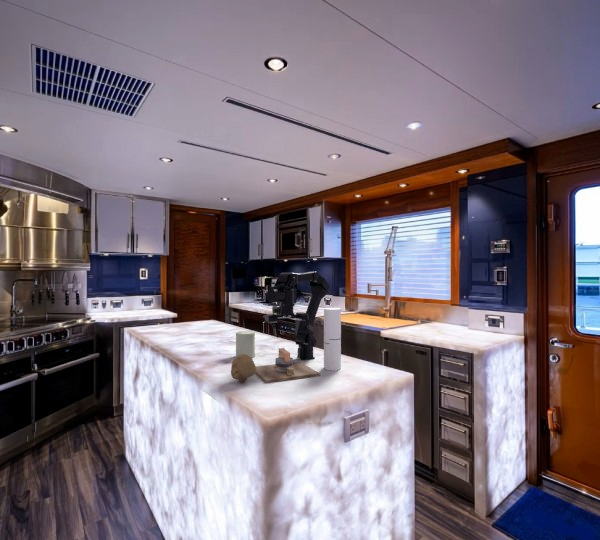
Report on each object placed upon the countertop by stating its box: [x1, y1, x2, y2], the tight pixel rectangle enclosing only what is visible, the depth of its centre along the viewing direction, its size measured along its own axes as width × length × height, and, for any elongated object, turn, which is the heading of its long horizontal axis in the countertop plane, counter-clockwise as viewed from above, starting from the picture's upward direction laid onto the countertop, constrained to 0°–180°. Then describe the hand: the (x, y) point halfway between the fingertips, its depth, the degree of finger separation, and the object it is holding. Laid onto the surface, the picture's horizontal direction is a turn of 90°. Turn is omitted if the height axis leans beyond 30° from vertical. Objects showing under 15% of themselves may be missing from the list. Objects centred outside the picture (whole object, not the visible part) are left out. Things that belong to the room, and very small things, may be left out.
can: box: [235, 330, 256, 359], centre depth 171 cm, size 9×9×12 cm
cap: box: [274, 347, 294, 367], centre depth 143 cm, size 9×7×6 cm
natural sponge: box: [230, 354, 257, 383], centre depth 131 cm, size 9×9×10 cm
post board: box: [254, 361, 321, 384], centre depth 143 cm, size 22×20×3 cm
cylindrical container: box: [323, 307, 342, 371], centre depth 150 cm, size 7×7×25 cm
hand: (286, 336), depth 157 cm, fingers open, 9 cm apart
